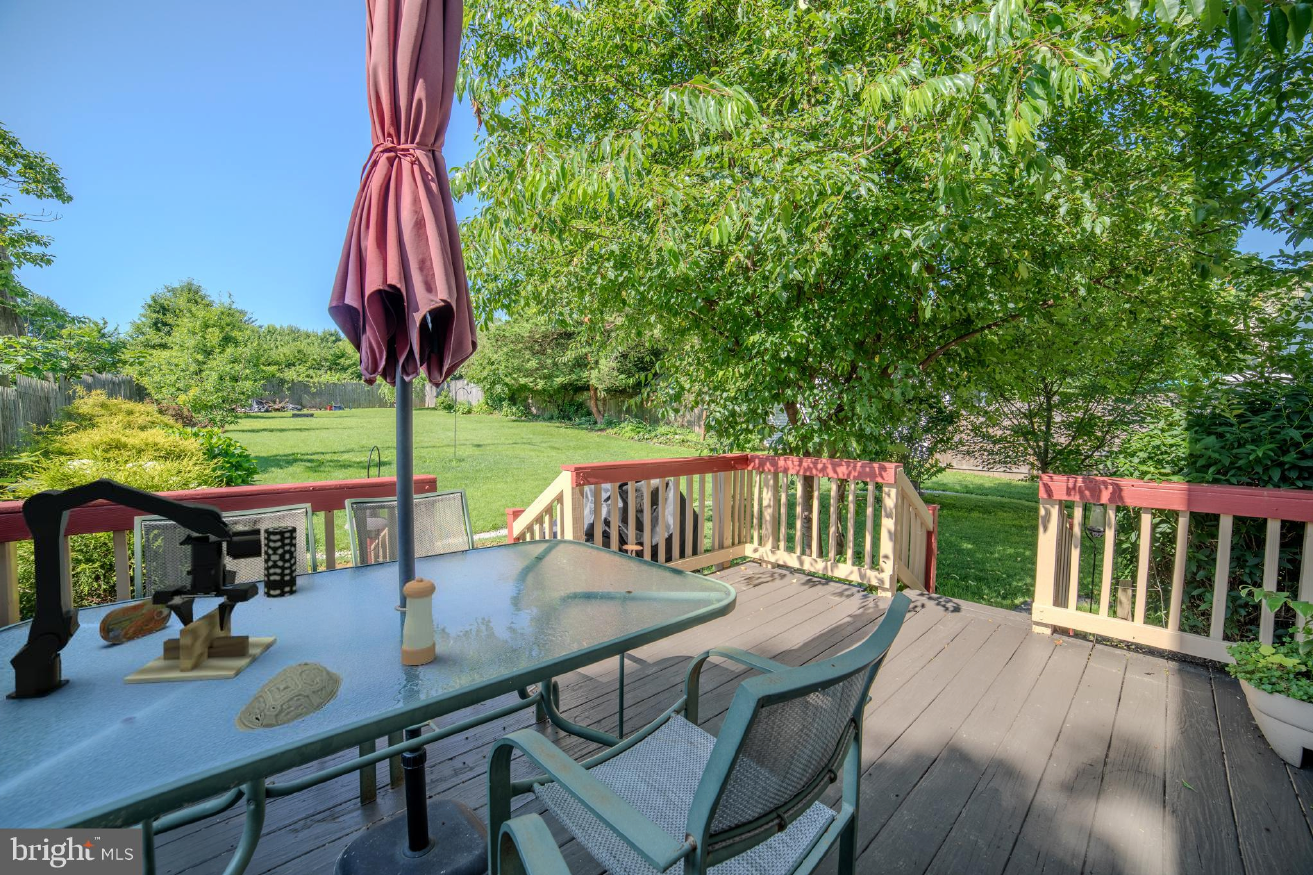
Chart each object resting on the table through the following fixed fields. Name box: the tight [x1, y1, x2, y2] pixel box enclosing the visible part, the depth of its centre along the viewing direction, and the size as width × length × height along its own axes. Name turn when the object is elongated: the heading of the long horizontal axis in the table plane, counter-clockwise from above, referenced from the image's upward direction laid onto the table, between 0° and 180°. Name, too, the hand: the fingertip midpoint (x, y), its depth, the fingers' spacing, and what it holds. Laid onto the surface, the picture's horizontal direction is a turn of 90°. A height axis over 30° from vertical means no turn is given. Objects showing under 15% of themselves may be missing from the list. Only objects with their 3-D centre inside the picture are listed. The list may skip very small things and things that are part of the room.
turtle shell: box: [234, 661, 343, 732], centre depth 114 cm, size 16×25×7 cm, turn 10°
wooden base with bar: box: [123, 635, 277, 685], centre depth 130 cm, size 20×20×5 cm
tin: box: [98, 598, 173, 645], centre depth 142 cm, size 15×3×8 cm, turn 168°
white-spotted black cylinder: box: [263, 525, 298, 599], centre depth 177 cm, size 8×8×20 cm
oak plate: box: [179, 606, 232, 672], centre depth 130 cm, size 16×2×9 cm, turn 11°
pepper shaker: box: [400, 576, 437, 666], centre depth 133 cm, size 7×7×19 cm
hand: (206, 631), depth 130 cm, fingers open, 6 cm apart
